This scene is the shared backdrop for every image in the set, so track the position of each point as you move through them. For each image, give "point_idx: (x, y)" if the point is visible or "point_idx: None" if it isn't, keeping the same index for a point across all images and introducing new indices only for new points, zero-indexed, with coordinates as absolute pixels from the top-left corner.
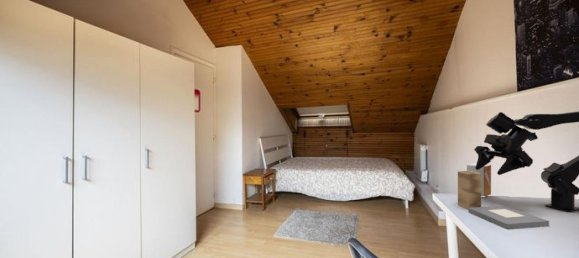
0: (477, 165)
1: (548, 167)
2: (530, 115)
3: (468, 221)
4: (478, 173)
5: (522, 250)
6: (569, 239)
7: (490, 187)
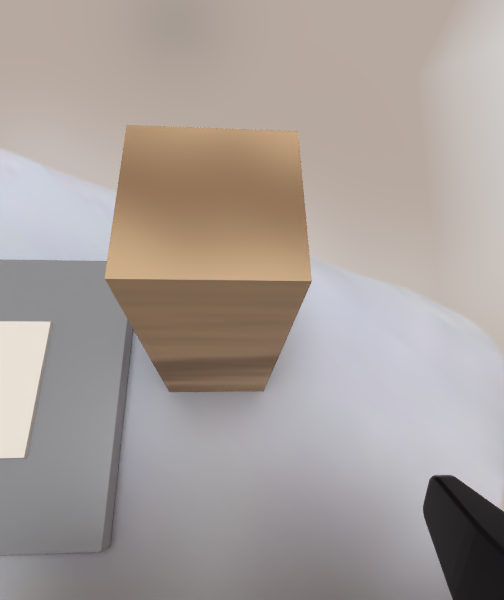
0: (475, 518)
1: None
2: None
3: (36, 186)
4: (114, 246)
5: None
6: None
7: None
